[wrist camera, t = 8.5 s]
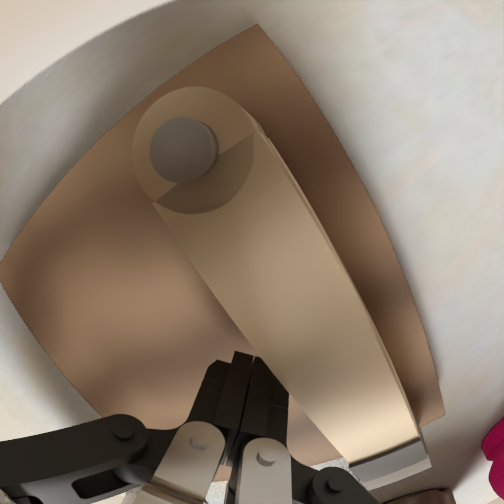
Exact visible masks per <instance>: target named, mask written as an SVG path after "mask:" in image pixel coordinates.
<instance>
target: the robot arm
mask: <svg viewBox="0 0 504 504" xmlns="http://www.w3.org/2000/svg"><path fill="white" fill-rule="evenodd" d="M253 358H254V360H253ZM288 408H289V392H288V391H287V390H286V389H285V388H284V386H283V385H282V384H281V383H280V381H279V380H278V379H277V378H276V376H275V375H274V374H273V372H272V371H271V370H270V369H269V367H268V366H267V365H266V364H265V362H264V361H263V360H262V358H261V357H258V356H255V357H254V355H250V354H246V353H243V352H239V351H236V350H235V352H234V355H233V358H232V362H231V363H228V362H224V361H221V360H218V359H217V360H216V361H215V362H213V363H212V364H211V365H210V366H208V368H207V371H206V373H205V376H204V379H203V381H202V383H201V386H200V388H199V391H198V393H197V396H196V398H195V401H194V403H193V406H192V409H191V411H190V414H189V416H188V418H187V420H186V421H185V422H184V423H183V424H182V425H181V426H179V427H177V428H174V429H169V430H160V429H150V428H146V427H145V425H144V424H143V423H142V422H141V421H140V420H139V419H137V418H136V417H133V416H131V415H127V414H114V415H111V416H107V417H104V418H101V419H97V420H94V421H90V422H87V423H83V424H79V425H76V426H72V427H68V428H64V429H60V430H56V431H51V432H47V433H43V434H38V435H33V436H29V437H23V438H18V439H13V440H7V441H1V442H0V504H91V503H94V502H98V501H101V500H103V499H107V498H110V497H113V496H115V495H118V494H121V493H124V492H126V491H127V492H126V495H125V497H124V499H123V501H122V503H121V504H207V503H205V502H204V500H205V497H206V494H207V492H208V489H209V487H210V484H211V482H212V481H213V480H214V478H215V476H216V473H217V471H218V468H219V466H220V465H224V463H225V461H226V458H227V461H226V465H225V466H229V467H232V470H231V475H230V479H229V481H228V483H227V485H226V492H225V499H224V504H379V503H378V502H377V501H376V500H375V499H374V498H373V497H372V496H371V495H370V494H369V493H368V492H367V491H366V490H365V488H364V487H363V486H362V485H361V484H360V483H359V482H358V481H357V480H356V479H355V478H354V477H353V476H352V475H351V474H350V473H349V472H347V471H346V470H344V469H342V468H339V467H326V468H323V469H321V470H320V471H318V470H315V469H313V468H311V467H308V466H306V465H303V464H301V463H300V462H298V461H297V460H295V459H294V458H293V457H292V455H291V454H290V453H289V451H288V448H287V426H288ZM227 456H228V457H227Z"/></svg>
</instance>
